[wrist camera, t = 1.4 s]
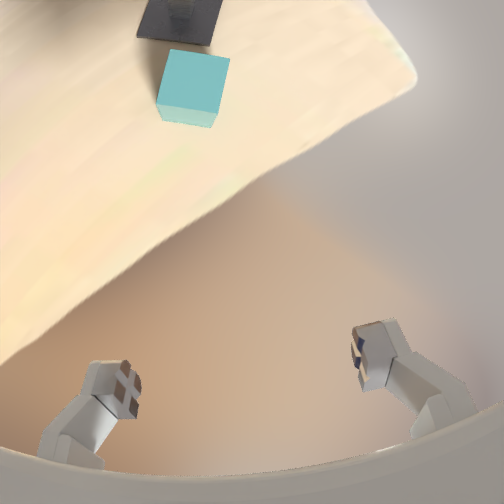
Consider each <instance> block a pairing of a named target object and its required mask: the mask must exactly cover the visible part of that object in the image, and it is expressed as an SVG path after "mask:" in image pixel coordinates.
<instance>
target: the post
mask: <svg viewBox="0 0 504 504" xmlns="http://www.w3.org/2000/svg"><path fill="white" fill-rule="evenodd" d="M222 1H223V0H150V1H149V3H148V6H147V9H146V11H145V14H144V17H143V19H142V22H141V25H140V28H139V31H138V34H137V38H147V39H158V40H168V41H176V42H183V43H191V44H197V45H203V46H209V47H210V43H211V39H212V36H213V32H214V28H215V25H216V21H217V18H218V15H219V11H220V8H221V5H222Z"/></svg>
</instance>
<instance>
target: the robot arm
mask: <svg viewBox="0 0 504 504" xmlns="http://www.w3.org/2000/svg"><path fill="white" fill-rule="evenodd" d="M352 336H353V339H354V340H353V341H352V342H351V352H352V358H353V362H354V366H355V367H356V368H357V369H359V374H358V378H359V382H360V384H361V388H362V391H363V392H366V391H370V390H374V389H379V388H382V387H385V388H386V389H387V390H388V391H389V392H390V393H392V394H393V395H394V396H395V397H396V398H397V399H398V400H400V401H401V402H402V403H403V404H404V405H405V406H407V407H408V408H409V409H410V410H411V411H412V412H414V413H415V414H416V415H417V416H418V417H417V419H416V420H415V422H414V424H413V426H412V427H411V429H410V430H409V431H410V435H411V438H412V440H410V441H407V442H404V443H401V444H398V445H395V446H391V447H388V448H385V449H381V450H378V451H374V452H371V453H367V454H363V455H359V456H355V457H351V458H347V459H343V460H338V461H333V462H329V463H324V464H319V465H313V466H307V467H301V468H295V469H288V470H280V471H272V472H263V473H253V474H241V475H224V476H162V475H144V474H132V473H123V472H114V471H105V470H104V465H105V462H104V460H103V459H102V458H100V457H99V456H97V455H96V454H95V453H96V451H97V449H98V448H99V447H100V446H101V444H102V443H103V441H104V440H105V438H106V437H107V435H108V434H109V433H110V431H111V430H112V428H113V427H114V426H115V424H116V423H117V421H118V419H137V413H138V407H139V404H138V402H137V400H136V399H137V398H138V397H139V396H140V395H141V389H142V387H141V380H140V377H139V375H138V374H137V373H136V372H135V371H133V370H132V369H130V368H131V364H130V363H129V362H128V361H127V360H104V361H92V362H91V363H90V364H89V366H88V370H87V373H86V376H85V379H84V382H83V386H82V389H81V393H80V395H77V396H75V397H74V399H73V400H72V401H71V402H70V403H69V404H68V405H67V406H66V407H65V408H64V409H63V410H62V411H61V412H60V413H59V414H58V415H57V416H56V417H55V419H54V420H53V421H52V422H51V423H50V424H49V425H48V426H47V427H46V428H45V429H44V430H43V433H42V437H41V441H40V445H39V448H38V452H37V456H36V457H35V456H31V455H27V454H23V453H20V452H17V451H13V450H10V449H7V448H4V447H1V446H0V504H504V400H503V401H501V402H499V403H497V404H495V405H493V406H491V407H489V408H487V409H485V410H483V411H481V412H478V410H477V408H476V405H475V403H474V401H473V399H472V397H471V395H470V392H469V391H468V388H467V386H466V384H465V383H464V382H462V381H461V380H460V379H458V378H457V377H455V376H453V375H452V374H450V373H449V372H447V371H445V370H444V369H442V368H441V367H439V366H438V365H436V364H434V363H433V362H431V361H430V360H428V359H427V358H425V357H424V356H422V355H420V354H419V353H417V352H412V351H411V349H410V347H409V345H408V343H407V341H406V339H405V336H404V335H403V332H402V330H401V328H400V326H399V324H398V322H397V320H396V319H395V318H390V319H386V320H382V321H377V322H373V323H369V324H365V325H360V326H356V327H354V328H353V330H352Z"/></svg>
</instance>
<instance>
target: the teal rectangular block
mask: <svg viewBox="0 0 504 504" xmlns="http://www.w3.org/2000/svg"><path fill="white" fill-rule="evenodd" d="M229 62H230V59H229V58H224V57H219V56H213V55H208V54H202V53H195V52H189V51H182V50H174V49H170V52H169V55H168V59H167V63H166V66H165V70H164V74H163V77H162V81H161V85H160V89H159V93H158V97H157V101H156V106H157V108H158V111H159V113H160V115H161V118H162V120H163V121H169V122H176V123H183V124H189V125H195V126H201V127H207V128H211V126H212V124H213V122H214V120H215V118H216V116H217V114H218V111H219V106H220V101H221V97H222V92H223V88H224V83H225V79H226V75H227V70H228V66H229Z"/></svg>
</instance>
